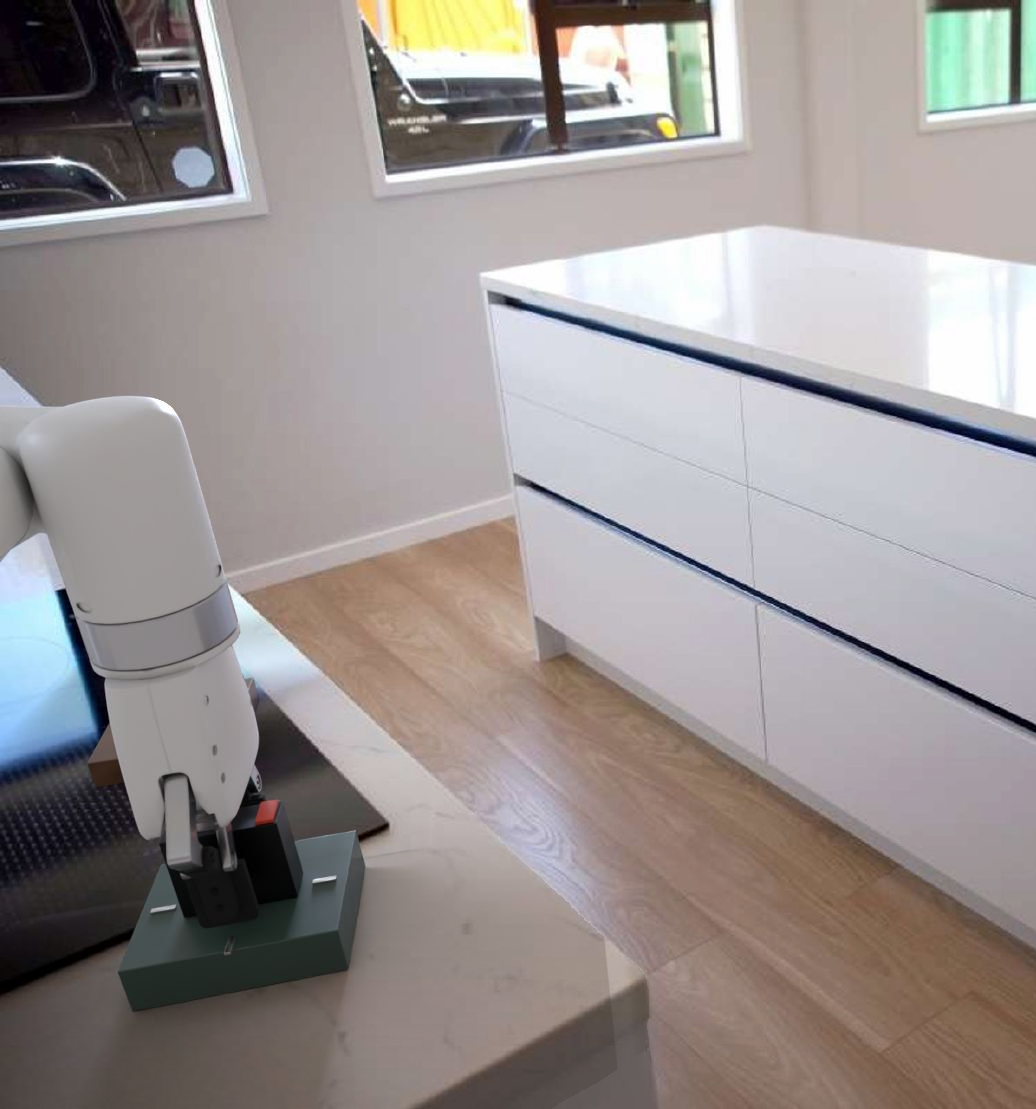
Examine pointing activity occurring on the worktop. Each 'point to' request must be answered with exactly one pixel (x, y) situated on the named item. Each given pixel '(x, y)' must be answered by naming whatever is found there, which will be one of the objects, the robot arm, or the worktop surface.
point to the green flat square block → (248, 933)
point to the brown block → (105, 755)
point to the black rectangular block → (254, 854)
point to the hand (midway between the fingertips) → (241, 883)
